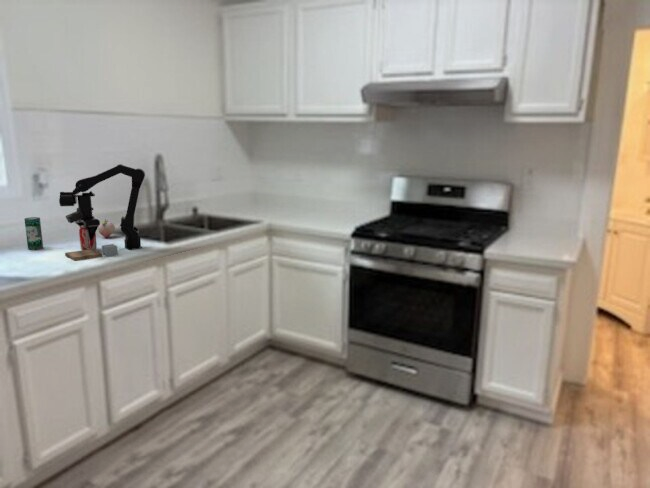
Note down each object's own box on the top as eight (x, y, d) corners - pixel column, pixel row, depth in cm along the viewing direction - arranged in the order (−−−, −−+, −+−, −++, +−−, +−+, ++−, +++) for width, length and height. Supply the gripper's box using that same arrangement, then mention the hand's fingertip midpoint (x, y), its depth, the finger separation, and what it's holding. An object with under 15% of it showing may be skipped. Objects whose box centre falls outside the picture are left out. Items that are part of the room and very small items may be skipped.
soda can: (79, 252, 229) (77, 227, 227) (82, 248, 236) (80, 224, 233) (95, 251, 231) (93, 226, 229) (98, 248, 238) (96, 224, 235)
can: (26, 250, 232) (22, 219, 229) (31, 247, 238) (27, 217, 234) (40, 249, 233) (36, 219, 230) (44, 247, 239) (41, 217, 236)
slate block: (113, 253, 229) (112, 244, 228) (117, 255, 225) (116, 245, 224) (102, 255, 225) (101, 245, 224) (106, 257, 222) (105, 247, 221)
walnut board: (92, 252, 230) (92, 248, 230) (102, 256, 222) (101, 253, 221) (65, 255, 222) (65, 252, 222) (74, 260, 213) (73, 257, 213)
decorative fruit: (114, 238, 260) (113, 220, 258) (98, 239, 258) (96, 221, 256) (116, 235, 269) (115, 217, 267) (100, 236, 266) (98, 218, 264)
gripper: (60, 205, 230) (63, 237, 233) (73, 209, 217) (76, 243, 220) (85, 203, 238) (87, 234, 241) (98, 207, 224) (101, 240, 228)
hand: (87, 238), depth 232 cm, fingers open, 9 cm apart
